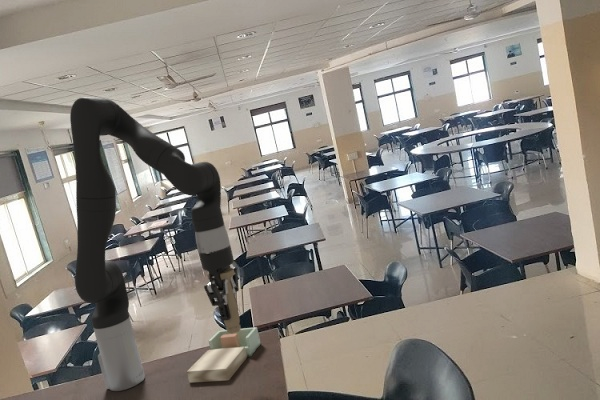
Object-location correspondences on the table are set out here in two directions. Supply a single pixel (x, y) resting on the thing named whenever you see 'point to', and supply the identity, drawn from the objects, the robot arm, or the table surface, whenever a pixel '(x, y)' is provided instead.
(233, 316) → the handle
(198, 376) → the cream flat slab
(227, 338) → the tile
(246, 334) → the box
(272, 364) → the table surface
